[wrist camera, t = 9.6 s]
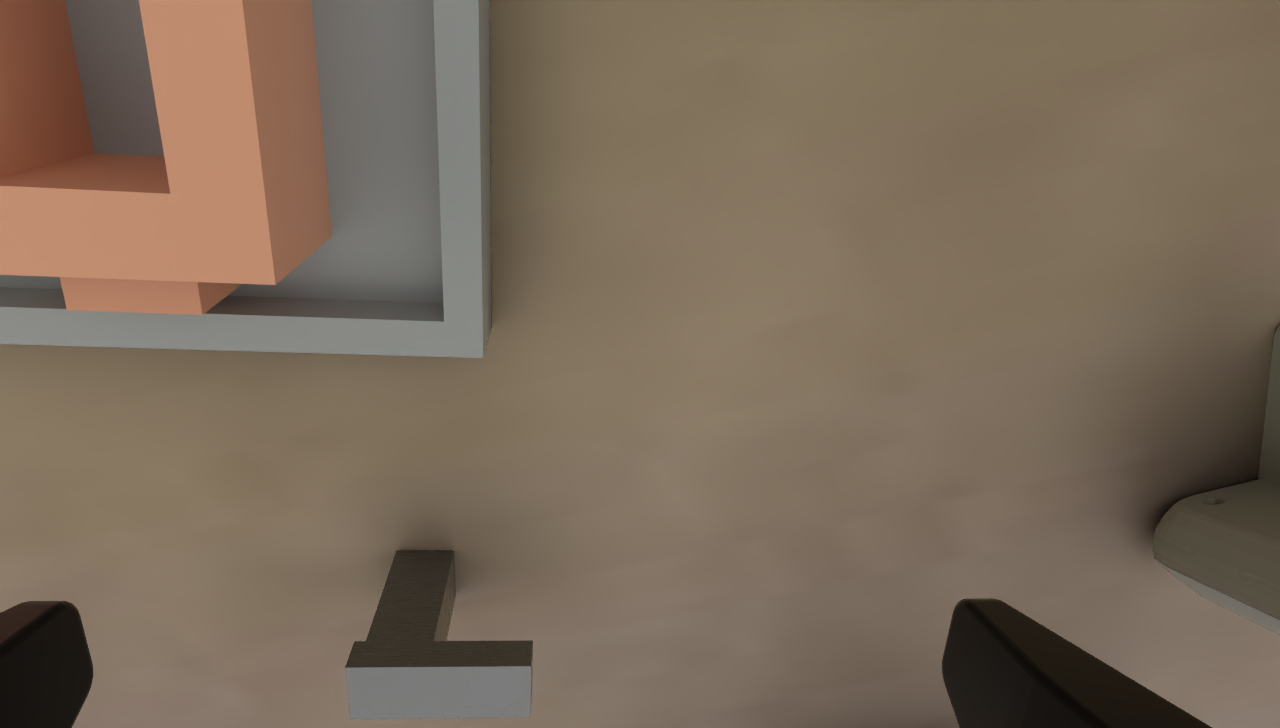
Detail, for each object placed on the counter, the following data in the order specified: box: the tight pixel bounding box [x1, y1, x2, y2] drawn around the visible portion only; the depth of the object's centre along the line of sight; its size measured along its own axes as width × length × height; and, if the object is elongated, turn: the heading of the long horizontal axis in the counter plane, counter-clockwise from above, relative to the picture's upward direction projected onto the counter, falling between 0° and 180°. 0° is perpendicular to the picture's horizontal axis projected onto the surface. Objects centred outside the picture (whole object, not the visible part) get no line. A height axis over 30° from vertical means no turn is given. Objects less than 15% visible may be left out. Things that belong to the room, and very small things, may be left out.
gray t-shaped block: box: [345, 551, 533, 719], centre depth 20 cm, size 2×4×4 cm, turn 87°
